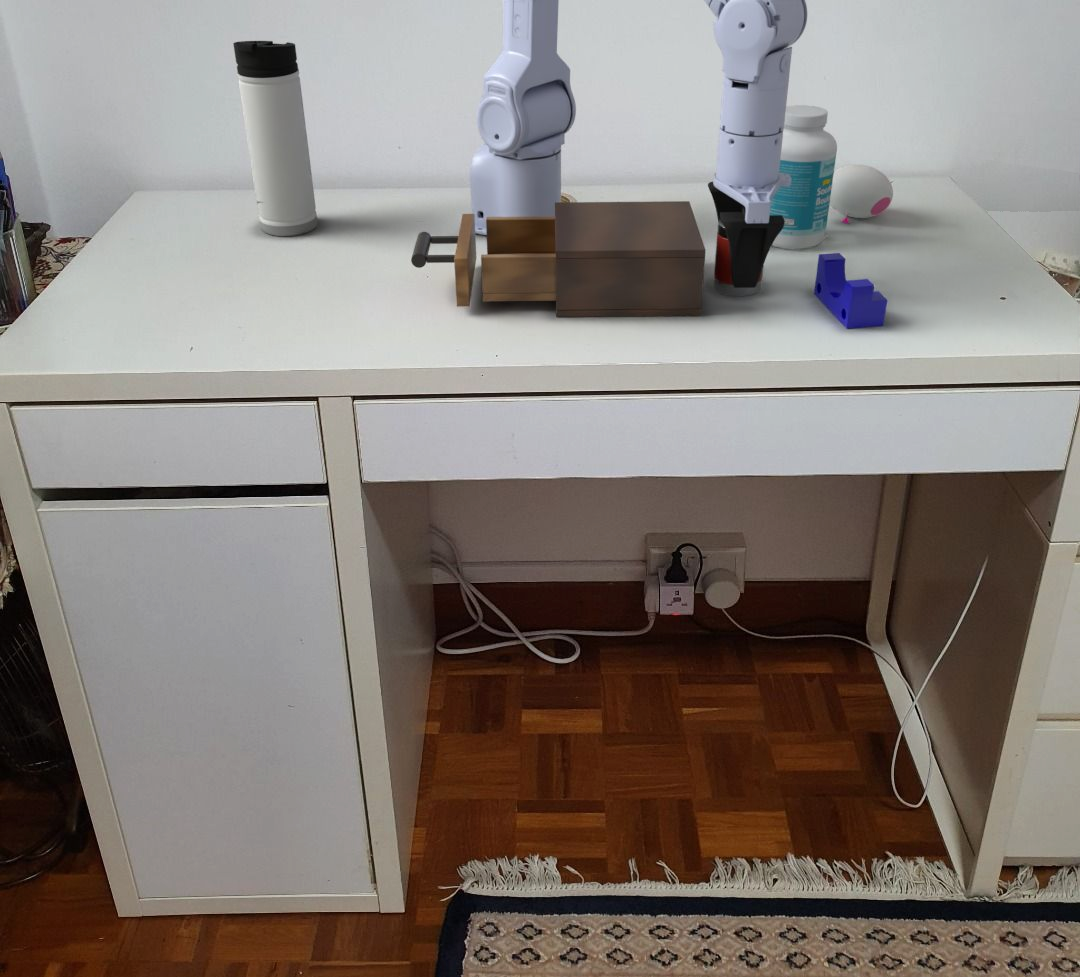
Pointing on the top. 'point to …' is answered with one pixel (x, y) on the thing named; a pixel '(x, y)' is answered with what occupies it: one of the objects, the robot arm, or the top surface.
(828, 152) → the pill bottle
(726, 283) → the can
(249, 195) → the top surface
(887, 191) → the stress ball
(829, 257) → the cable holder
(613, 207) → the organiser
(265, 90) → the travel mug
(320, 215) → the top surface
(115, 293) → the top surface
